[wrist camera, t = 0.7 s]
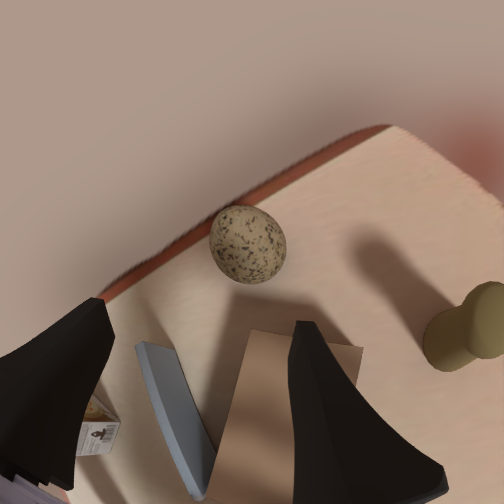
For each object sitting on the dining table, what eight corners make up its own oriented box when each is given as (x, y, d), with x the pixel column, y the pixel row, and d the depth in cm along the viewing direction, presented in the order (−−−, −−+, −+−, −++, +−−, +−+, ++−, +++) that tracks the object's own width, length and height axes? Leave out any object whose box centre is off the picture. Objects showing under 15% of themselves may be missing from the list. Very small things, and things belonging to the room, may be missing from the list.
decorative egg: (238, 303, 30) (191, 267, 22) (227, 247, 34) (184, 200, 26) (302, 281, 29) (277, 235, 21) (284, 226, 33) (256, 169, 24)
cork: (411, 353, 22) (447, 334, 13) (441, 299, 23) (482, 252, 14) (457, 382, 19) (512, 378, 10) (484, 328, 20) (541, 294, 10)
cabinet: (317, 502, 18) (307, 529, 13) (232, 479, 22) (204, 496, 17) (361, 354, 24) (363, 347, 19) (271, 339, 27) (251, 328, 22)
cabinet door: (231, 484, 21) (204, 500, 16) (210, 488, 21) (181, 504, 17) (174, 349, 30) (142, 341, 25) (157, 358, 30) (125, 350, 25)
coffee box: (75, 417, 31) (-16, 403, 17) (85, 384, 32) (-10, 362, 19) (110, 455, 26) (7, 456, 13) (123, 421, 28) (12, 413, 15)
